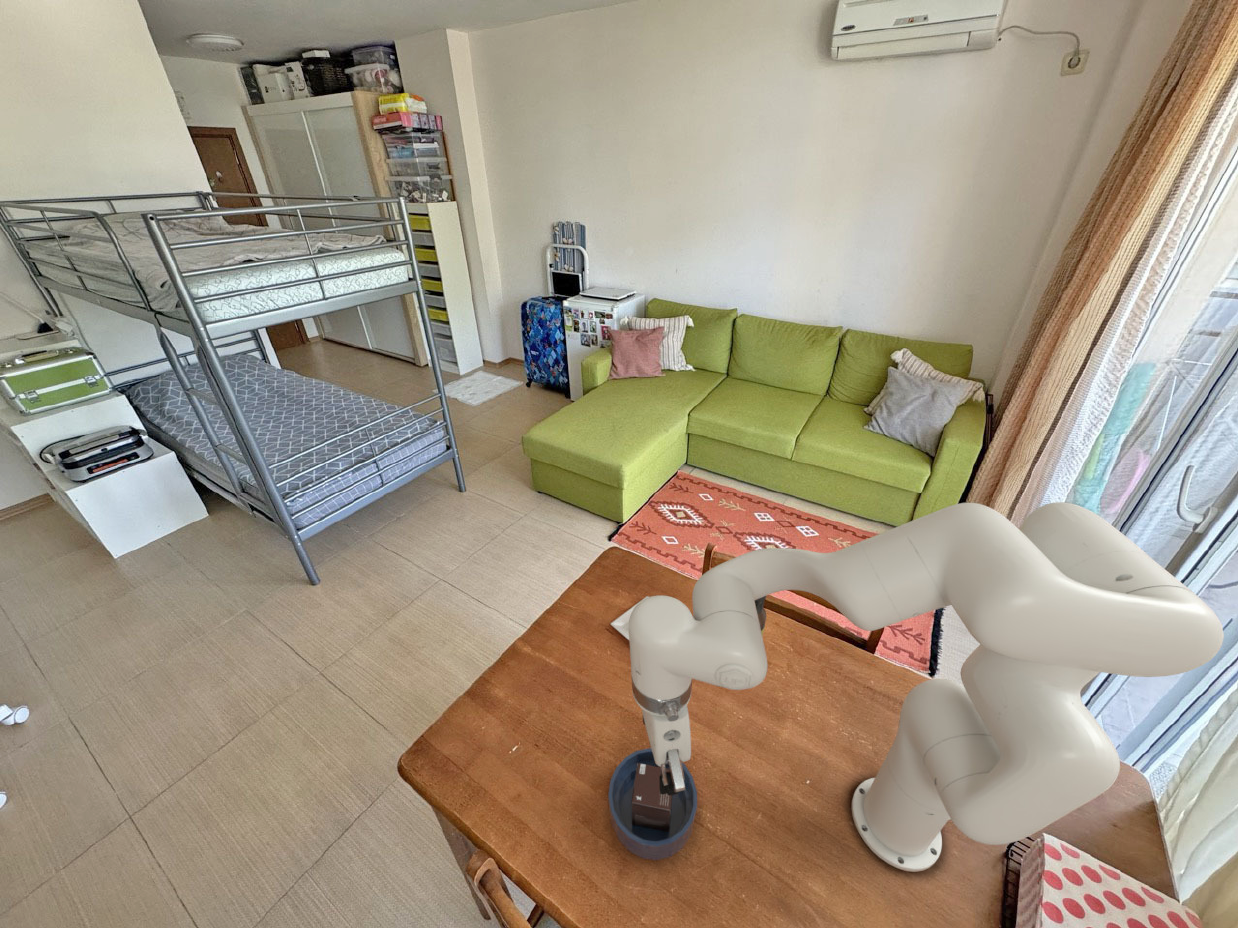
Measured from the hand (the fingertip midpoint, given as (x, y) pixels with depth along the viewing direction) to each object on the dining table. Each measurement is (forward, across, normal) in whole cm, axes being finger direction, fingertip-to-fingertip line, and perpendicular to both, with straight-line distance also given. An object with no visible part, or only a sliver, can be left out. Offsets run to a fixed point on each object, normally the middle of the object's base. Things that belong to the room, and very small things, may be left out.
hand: (661, 753), depth 71 cm
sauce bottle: (+18, +25, -24) cm, 39 cm away
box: (+17, 0, +2) cm, 17 cm away
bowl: (+17, 0, +2) cm, 17 cm away
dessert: (+18, +36, -6) cm, 41 cm away
